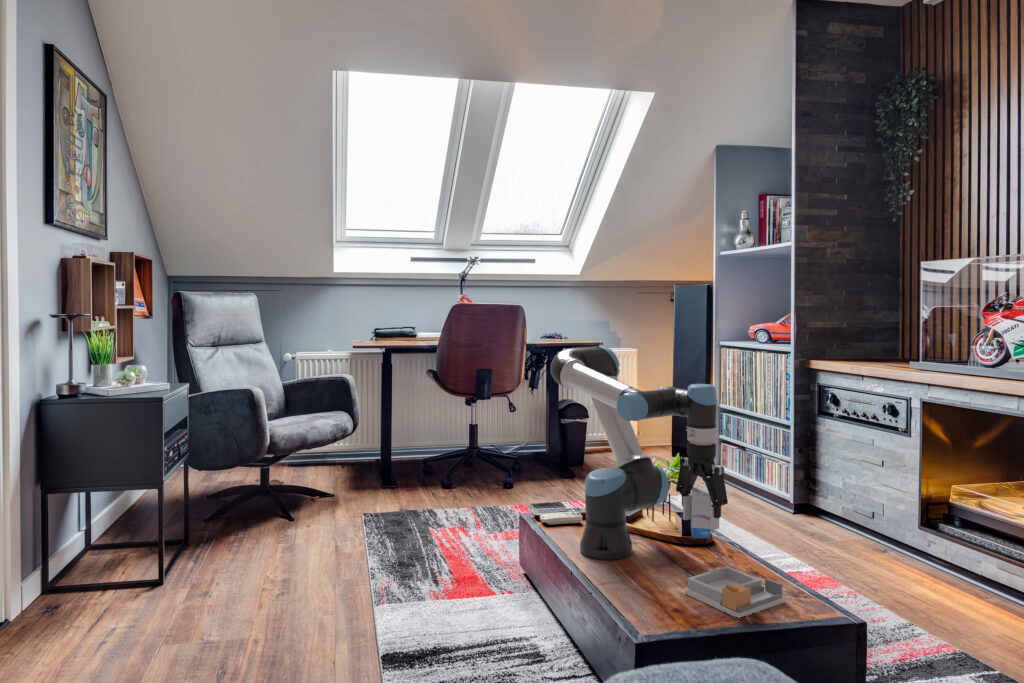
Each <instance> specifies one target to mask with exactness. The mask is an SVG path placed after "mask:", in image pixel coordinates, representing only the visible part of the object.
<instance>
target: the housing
mask: <svg viewBox="0 0 1024 683" xmlns="http://www.w3.org/2000/svg"><path fill="white" fill-rule="evenodd" d="M737 583H738V584H740V585H742V586H745V587H747V588H750V589H751V604H748V605H746V606H743V607H740V608H737V611H735V610H733V609H730V608H728V607H726V606H724V605H722V588H724V587H726V585H727V584H729V585H734V584H737ZM762 583H763V580H762V579H760V578H758V577H755V576H753V575H750V574H748V573H746V572H742V571H740V570H737V569H735V568H733V567H730V566H728V565H725V566H723V567H719V568H715V569H713V570H710V571H707V572H702V573H699V574H697V575H692V576H690V577H687V587H686V588H684V594H685V595H687V596H690V597H691V598H694V599H695V598H696V599H695V600H698V601H700V602H702V603H704V604H707V605H708V604H709V605H708V606H711V607H713V608H715V609H717V610H720V611H721V612H723V613H725V612H726V614H728V615H730V616H732V617H734V616H735V617H734V618H736V617H738V618H740V617H743V616H746V615H748V616H750V614H751V615H753V614H752V613H754V614H756V613H759V612H761V610H762V611H764V609H765V610H767V609H769V607H770V608H773V607H775V605H776V606H778V605H781V604H784V603H785V602H786V596H783V583H781V582H779V581H776V580H773V579H771V578H768V577H767V578H765V579H764V586H763V584H762ZM772 606H773V607H772ZM755 612H756V613H755ZM746 617H747V616H746ZM738 618H737V619H738ZM743 618H744V617H743ZM740 619H741V618H740Z"/></svg>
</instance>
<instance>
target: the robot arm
mask: <svg viewBox="0 0 1024 683" xmlns="http://www.w3.org/2000/svg"><path fill="white" fill-rule="evenodd" d="M619 361H620V360H619V359H618V356H617V355H616V353H615V352H614V351H613V350H612V349H610V348H608V347H606V346H597V345H596V346H595V345H594V346H590V347H573V348H565V349H562V350H560V351H559V352H558V353H557V354H556V355H554V356H553V359H552V361H551V363H550V374H551V377H552V378H553V380H554V381H555V382H556V383H557V384H558V385H560V386H561V387H563V388H565V389H568V390H576V391H579V392H580V393H583V394H586V395H587V396H589V397H590V398H591V401H592V403H593V404H592V405H593V406H594V408H595V411H596V413H597V416H598V419H599V421H600V424H601V426H602V429H603V431H604V434H605V437H606V439H607V442H608V444H609V447H610V449H611V451H612V455H613V457H614V460H615V462H616V467H614V466H613V467H610V466H609V467H607V468H606V467H602V468H597V469H595V470H592V471H590V472H588V474H587V475H586V477H585V482H584V483H585V484H584V495H585V497H584V498H585V501H584V502H585V505H584V506H585V526H584V530H583V533H582V537H581V539H580V543H579V550H580V553H581V554H582V555H584V556H585V557H588V558H591V559H596V560H602V561H603V560H605V561H607V560H609V561H610V560H620V559H621V560H622V559H625V558H627V557H629V556H630V555H632V554H633V542H632V539H631V536H630V533H629V530H628V527H627V512H632V511H638V510H642V509H643V510H644V509H647V508H653V507H655V506H659V505H660V504H662V503H664V502H665V500H666V498H667V495H668V491H669V479H668V476H667V473H666V471H665V470H664V469H663V468H662V467H661V466H658V465H655V464H654V463H653V461H652V459H651V456H648V455H646V454H644V452H643V450H642V447H641V445H640V442H639V439H638V437H637V434H636V433H635V430H634V427H633V426H632V422H633V421H634V422H637V421H638V422H639V421H643V420H648V419H656V418H663V417H670V416H671V417H672V416H676V417H677V416H679V417H683V418H686V419H687V421H686V422H687V423H686V425H687V431H686V432H687V434H686V437H687V441H688V442H687V443H686V454H687V456H688V457H681V458H679V472H678V476H677V482H676V486H675V491H676V492H677V493H680V495H681V506H682V510H683V511H682V520H683V521H689V520H691V504H692V487H695V486H694V485H695V483H696V481H697V478H698V477H699V478H702V481H703V482H704V483H705V485H706V488H707V489H708V492H709V495H710V496H711V497H710V498H711V505H710V531H717V530H719V529H720V518H722V507H723V506H725V505H728V503H729V502H728V496H727V495H728V494H727V489H726V484H725V477H724V474H725V467H724V466H717V464H715V458H716V457H717V444H716V441H717V403H718V398H717V388H716V387H715V386H714V385H713V384H708V383H692V384H689V385H688V386H687V389H684V388H679V387H675V386H665V385H663V386H660V387H658V389H653V390H640V389H638V388H635V387H633V386H632V385H628V384H627V383H624V382H622V381H621V380H619V378H618V376H619V374H620V368H619V367H620V362H619ZM631 421H632V422H631Z"/></svg>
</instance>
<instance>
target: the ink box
mask: <svg viewBox="0 0 1024 683" xmlns="http://www.w3.org/2000/svg"><path fill="white" fill-rule="evenodd" d="M691 493H692V494H691V495H692V504H691V519H690V531H691V537H692V538H695V539H711V530H710V505H712V501H711V498H710V497H711V496H710V495H709V492H708V489H707V487H701V486H693V487H692V490H691Z"/></svg>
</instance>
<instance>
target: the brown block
mask: <svg viewBox="0 0 1024 683" xmlns="http://www.w3.org/2000/svg"><path fill="white" fill-rule="evenodd" d="M748 604H751V589H750V588H747V587H745V586H742V585H740V584H738V583H737V584H734V585H729V584H727V585H726V587H724V588H722V605H724V606H726V607H728V608H730V609H733V610H735V611H737V608H740V607H743V606H746V605H748Z"/></svg>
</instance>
